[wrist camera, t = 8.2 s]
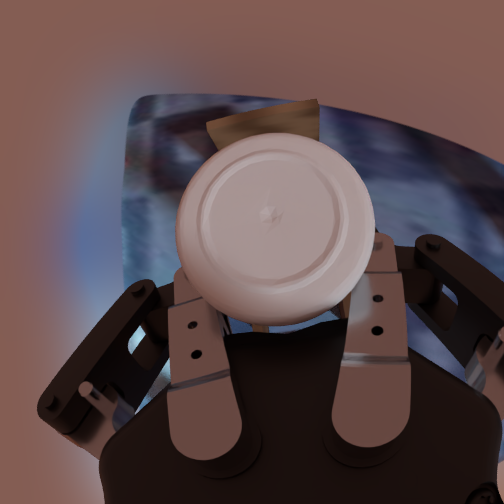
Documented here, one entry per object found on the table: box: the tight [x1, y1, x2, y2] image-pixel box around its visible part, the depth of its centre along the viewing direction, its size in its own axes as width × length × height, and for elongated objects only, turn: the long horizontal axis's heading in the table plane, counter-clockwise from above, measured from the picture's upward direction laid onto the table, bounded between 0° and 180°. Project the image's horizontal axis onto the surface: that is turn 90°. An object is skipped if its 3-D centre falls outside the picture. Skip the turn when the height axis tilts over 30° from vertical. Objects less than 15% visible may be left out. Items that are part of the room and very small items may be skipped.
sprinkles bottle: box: [175, 133, 375, 326], centre depth 12 cm, size 5×5×13 cm
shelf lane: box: [206, 99, 351, 333], centre depth 26 cm, size 10×19×12 cm, turn 10°
